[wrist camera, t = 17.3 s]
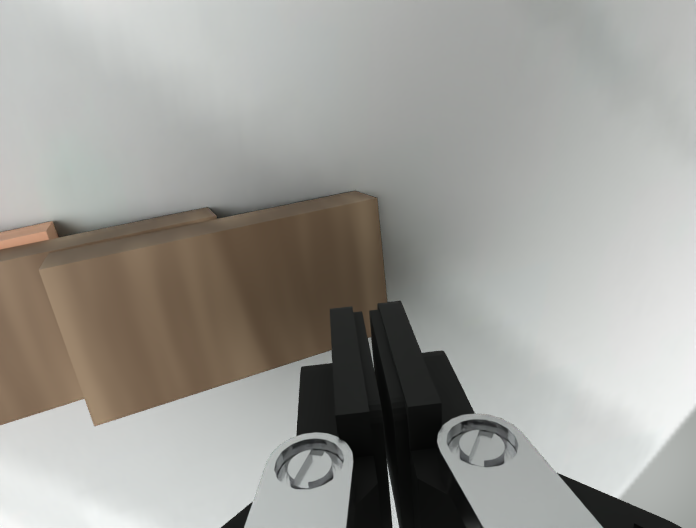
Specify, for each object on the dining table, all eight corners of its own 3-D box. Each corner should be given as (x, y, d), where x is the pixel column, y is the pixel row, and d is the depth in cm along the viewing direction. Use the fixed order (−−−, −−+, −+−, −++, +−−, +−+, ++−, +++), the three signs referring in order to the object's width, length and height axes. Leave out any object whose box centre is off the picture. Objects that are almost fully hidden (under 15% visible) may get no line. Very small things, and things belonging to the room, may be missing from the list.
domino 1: (216, 215, 16) (-172, 297, 12) (245, 347, 18) (-88, 453, 14) (207, 206, 17) (-139, 278, 14) (235, 328, 19) (-67, 419, 16)
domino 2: (377, 197, 16) (38, 270, 13) (390, 330, 18) (94, 426, 14) (354, 190, 18) (48, 253, 14) (368, 313, 19) (97, 395, 16)
